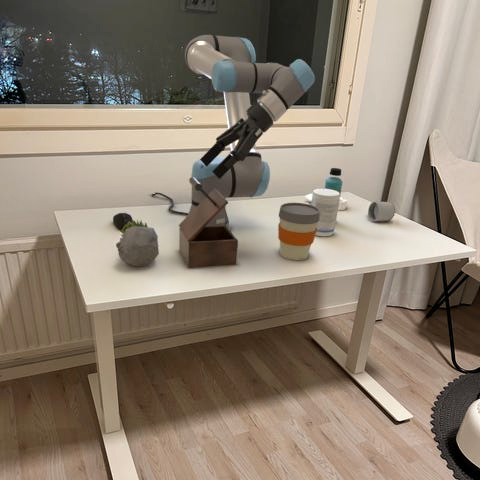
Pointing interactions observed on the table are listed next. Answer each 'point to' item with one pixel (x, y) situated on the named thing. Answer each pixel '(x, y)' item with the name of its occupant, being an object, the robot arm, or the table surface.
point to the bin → (209, 247)
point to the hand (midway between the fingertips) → (209, 169)
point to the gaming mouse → (121, 220)
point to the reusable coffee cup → (297, 229)
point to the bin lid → (202, 211)
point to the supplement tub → (326, 210)
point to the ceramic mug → (381, 211)
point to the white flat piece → (341, 203)
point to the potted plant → (138, 244)
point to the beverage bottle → (334, 180)
